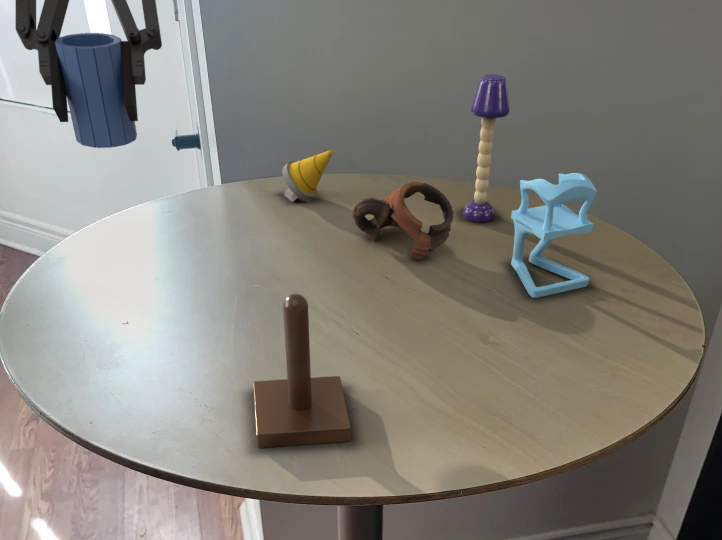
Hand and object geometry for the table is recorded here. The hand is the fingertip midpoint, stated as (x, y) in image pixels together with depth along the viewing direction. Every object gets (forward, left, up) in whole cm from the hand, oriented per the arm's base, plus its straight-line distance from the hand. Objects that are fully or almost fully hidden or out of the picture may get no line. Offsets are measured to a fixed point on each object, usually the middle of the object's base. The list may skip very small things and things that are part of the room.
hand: (96, 113), depth 76 cm
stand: (+17, -28, -17) cm, 37 cm away
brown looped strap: (+32, +6, -18) cm, 37 cm away
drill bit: (+22, +22, -18) cm, 36 cm away
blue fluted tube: (0, +4, -3) cm, 5 cm away
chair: (+47, -4, -18) cm, 50 cm away
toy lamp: (+44, +14, -18) cm, 49 cm away
